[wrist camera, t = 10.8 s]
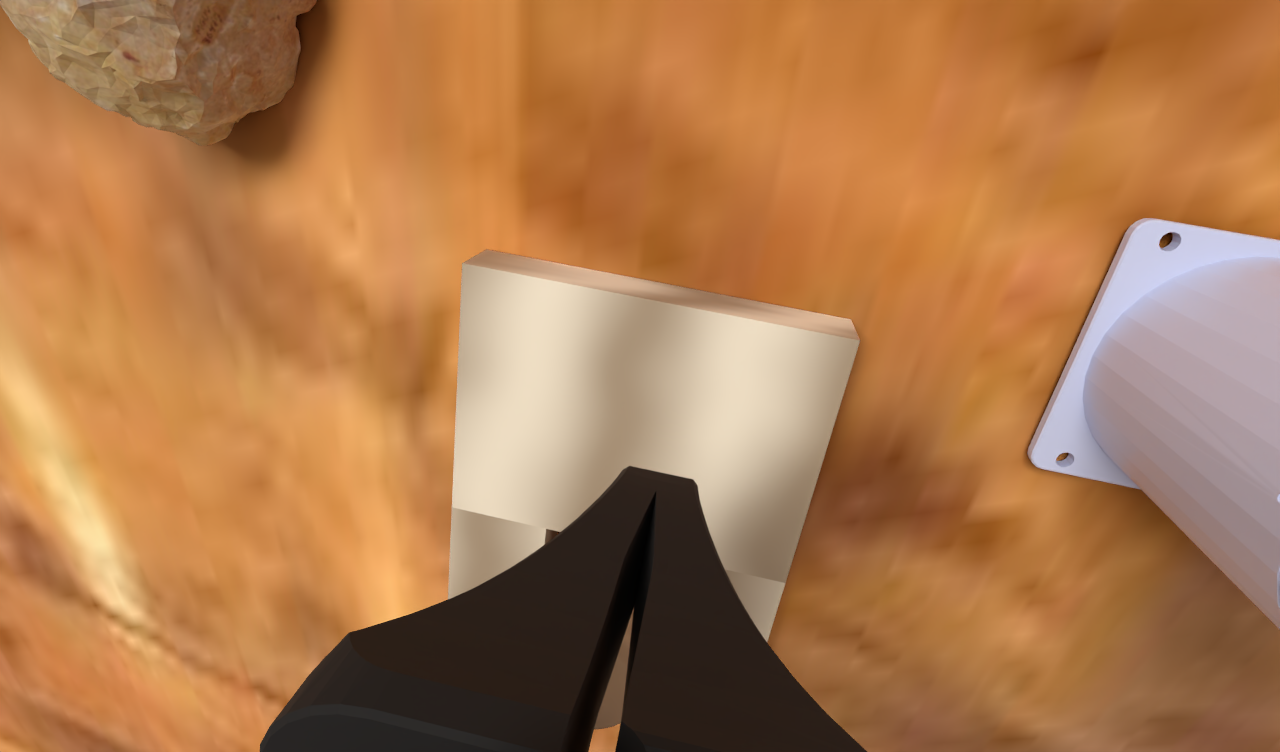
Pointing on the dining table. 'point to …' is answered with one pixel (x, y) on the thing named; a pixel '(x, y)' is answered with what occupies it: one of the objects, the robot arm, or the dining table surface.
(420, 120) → the dining table surface
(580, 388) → the board
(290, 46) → the stone tool
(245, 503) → the dining table surface
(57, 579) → the dining table surface
